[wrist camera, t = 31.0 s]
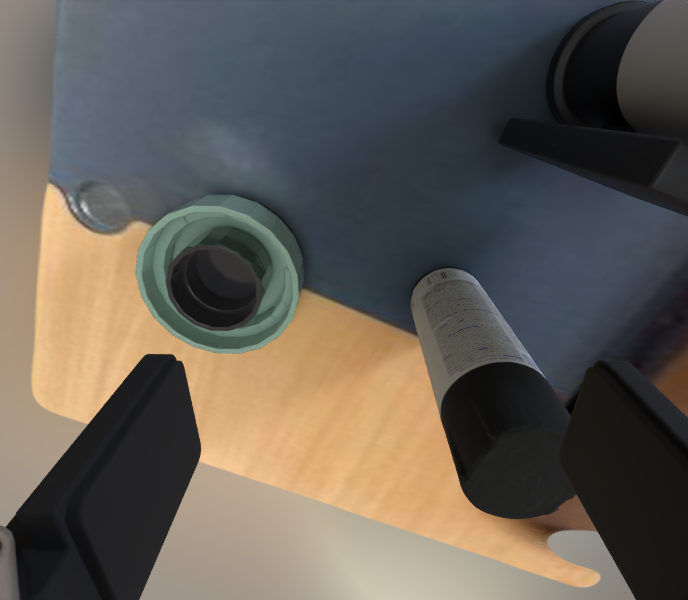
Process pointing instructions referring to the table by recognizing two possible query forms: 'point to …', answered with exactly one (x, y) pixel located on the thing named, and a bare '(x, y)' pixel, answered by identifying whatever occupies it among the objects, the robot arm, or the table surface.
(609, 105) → the light fixture
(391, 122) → the table surface
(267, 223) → the celadon bowl
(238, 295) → the charcoal bowl
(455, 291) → the spray can
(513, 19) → the table surface
